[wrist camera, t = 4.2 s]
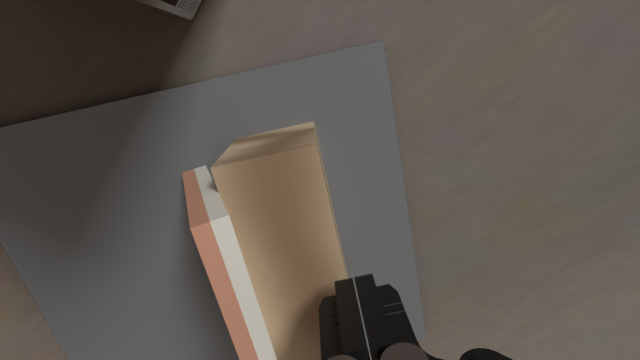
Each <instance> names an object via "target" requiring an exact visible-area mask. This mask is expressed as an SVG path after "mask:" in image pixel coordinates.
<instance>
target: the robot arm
mask: <svg viewBox="0 0 640 360" xmlns="http://www.w3.org/2000/svg"><path fill="white" fill-rule="evenodd" d="M354 279H355V284H356V289H357V293H358V298H359V302H360V307H361V311H362V316H363V321H364V325H365V330H366V334H367V339H368V343H369V348H370V353H371V357H372V360H443V359H438V358H435V357H433V356H431V355H429V354H427V353H426V352H425V351H424V350H423V349H422V348H421V347H420V346H419V344H418V341H417V339H416V336H415V334H414V331H413V329H412V326H411V324H410V321H409V319H408V316H407V313H406V312H405V308H404V306H403V303H402V301H401V298H400V296H399V293H398V291H397V290H396V289H394V288H393V287H392V286H391V285H390V284H386V285H381V286H376V284H375V281H374V277H373V274H367V275H362V276H357V277H354ZM334 284H335V292H336V295H333V296H328V297H324V298H323V299H322V301H321V304H320V306H319V308H318V309H319V327H320V348H321V360H370V357H369V352H368V347H367V342H366V338H365V333H364V328H363V324H362V319H361V314H360V310H359V305H358V301H357V296H356V292H355V287H354V283H353V278H348V279H343V280H338V281H334ZM460 360H512V359H510V358H508V357H506V356H504V355H502V354H500V353H498V352H496V351H493V350H490V349H484V348H477V349H472V350H469V351H467V352H465V353H464V354H463V355H462V356H461V358H460Z"/></svg>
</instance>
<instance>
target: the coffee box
mask: <svg viewBox="0 0 640 360" xmlns="http://www.w3.org/2000/svg"><path fill="white" fill-rule="evenodd" d="M135 1H138V2H141V3H144V4H147V5H149V6H152V7H155V8H158V9H161V10H163V11H166V12H169V13H172V14H175V15H177V16H180V17H183V18H185V19H189V20H191V19H192V18H193V17H194V15H195V13H196V11H197V9H198V7H199V5H200V4H201V2H202V0H135Z"/></svg>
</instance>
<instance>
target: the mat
mask: <svg viewBox="0 0 640 360" xmlns="http://www.w3.org/2000/svg"><path fill="white" fill-rule="evenodd" d="M309 122H314V124H315V129H316V133H317V138H318V142H319V147H320V151H321V156H322V160H323V165H324V170H325V174H326V179H327V183H328V188H329V192H330V197H331V201H332V206H333V210H334V215H335V219H336V224H337V228H338V233H339V237H340V242H341V246H342V251H343V255H344V260H345V264H346V269H347V274H348V278H353V283H354V287H355V292H356V296H357V301H358V305H359V310H360V314H361V319H362V324H363V328H364V333H365V338H366V342H367V347H368V351H370V348H369V343H368V339H367V334H366V330H365V325H364V321H363V316H362V311H361V307H360V302H359V298H358V293H357V289H356V284H355V279H354V277H357V276H362V275H367V274H373V277H374V281H375V284H376V286H381V285H386V284H390V285H391V286H392V287H393V288H394V289H396V290H397V291H398V293H399V296H400V298H401V301H402V303H403V306H404V308H405V312H406V313H407V316H408V319H409V321H410V324H411V326H412V329H413V331H414V334H415V336H416V339H417V341H421V340H426V339H427V337H426V330H425V323H424V316H423V309H422V302H421V295H420V288H419V281H418V274H417V267H416V260H415V253H414V246H413V239H412V232H411V225H410V219H409V212H408V205H407V198H406V191H405V184H404V177H403V170H402V163H401V156H400V149H399V142H398V135H397V128H396V121H395V114H394V107H393V100H392V94H391V87H390V80H389V73H388V66H387V59H386V52H385V45H384V40H382V41H377V42H373V43H369V44H364V45H360V46H356V47H351V48H347V49H342V50H338V51H334V52H329V53H325V54H320V55H316V56H312V57H307V58H303V59H299V60H294V61H290V62H285V63H281V64H277V65H272V66H268V67H263V68H259V69H255V70H250V71H246V72H242V73H237V74H233V75H228V76H224V77H220V78H215V79H211V80H206V81H202V82H198V83H193V84H189V85H185V86H180V87H176V88H171V89H167V90H163V91H158V92H154V93H149V94H145V95H141V96H136V97H132V98H128V99H123V100H119V101H114V102H110V103H106V104H101V105H97V106H92V107H88V108H84V109H79V110H75V111H71V112H66V113H62V114H57V115H53V116H49V117H44V118H40V119H35V120H31V121H27V122H22V123H18V124H14V125H9V126H5V127H0V243H1V245H2V247H3V248H4V250H5V252H6V253H7V255H8V257H9V259H10V260H11V262H12V264H13V265H14V267H15V269H16V271H17V272H18V274H19V276H20V277H21V279H22V281H23V283H24V284H25V286H26V288H27V289H28V291H29V293H30V294H31V296H32V298H33V300H34V301H35V303H36V305H37V306H38V308H39V310H40V312H41V313H42V315H43V317H44V318H45V320H46V322H47V324H48V325H49V327H50V329H51V330H52V332H53V334H54V336H55V337H56V339H57V341H58V342H59V344H60V346H61V348H62V349H63V351H64V353H65V354H66V356H67V358H68V359H69V360H239V357H238V355H237V352H236V349H235V347H234V344H233V341H232V339H231V336H230V333H229V331H228V328H227V325H226V323H225V320H224V317H223V315H222V312H221V309H220V307H219V304H218V301H217V299H216V296H215V293H214V291H213V288H212V285H211V283H210V280H209V277H208V275H207V272H206V269H205V267H204V264H203V261H202V259H201V256H200V254H199V251H198V248H197V246H196V243H195V240H194V238H193V235H192V232H191V230H190V224H189V217H188V211H187V204H186V197H185V190H184V183H183V176H182V172H185V171H188V170H192V169H195V168H198V167H202V166H205V165H206V167H207V169H208V171H209V174H210V176H211V178H212V180H213V182H214V184H215V181H214V178H213V175H212V172H211V169H210V168H211V167H212V165H213V164H214V163H215V162H216V161H217V160H218V159H219V157H220V156H221V155H222V154H223V153H224V152H225V151H226V149H227V148H228V147H229V146H230V145H231V144H232V143H233V142H234V140H235V139H237V138H241V137H246V136H250V135H255V134H259V133H264V132H268V131H273V130H277V129H282V128H286V127H291V126H295V125H300V124H305V123H309ZM215 186H216V184H215ZM216 188H217V187H216Z"/></svg>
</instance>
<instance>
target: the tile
mask: <svg viewBox="0 0 640 360" xmlns="http://www.w3.org/2000/svg"><path fill="white" fill-rule="evenodd" d="M182 176H183V183H184V190H185V197H186V204H187V211H188V217H189V224H190V230H191V232H192V235H193V238H194V240H195V243H196V246H197V248H198V251H199V254H200V256H201V259H202V261H203V264H204V267H205V269H206V272H207V275H208V277H209V280H210V283H211V285H212V288H213V291H214V293H215V296H216V299H217V301H218V304H219V307H220V309H221V312H222V315H223V317H224V320H225V323H226V325H227V328H228V331H229V333H230V336H231V339H232V341H233V344H234V347H235V349H236V352H237V355H238V357H239V360H277V358H276V355H275V352H274V349H273V346H272V343H271V340H270V337H269V334H268V331H267V328H266V325H265V322H264V319H263V316H262V313H261V310H260V307H259V304H258V301H257V298H256V295H255V292H254V289H253V286H252V283H251V280H250V277H249V274H248V271H247V268H246V265H245V262H244V259H243V256H242V253H241V250H240V247H239V243H238V240H237V237H236V234H235V231H234V228H233V225H232V222H231V219H230V216H229V214H228V212H227V210H226V207H225V205H224V203H223V201H222V199H221V197H220V195H219V193H218V190H217V188H216V186H215V184H214V182H213V180H212V178H211V176H210V174H209V171H208V169H207V167H206V165H205V166H202V167H198V168H195V169H192V170H188V171H185V172H182Z"/></svg>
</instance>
